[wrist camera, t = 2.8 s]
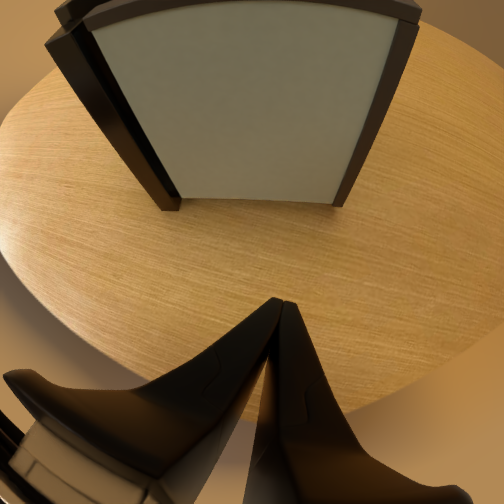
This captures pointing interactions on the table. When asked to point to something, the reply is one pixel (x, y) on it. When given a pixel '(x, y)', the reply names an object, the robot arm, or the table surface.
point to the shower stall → (107, 100)
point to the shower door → (259, 88)
